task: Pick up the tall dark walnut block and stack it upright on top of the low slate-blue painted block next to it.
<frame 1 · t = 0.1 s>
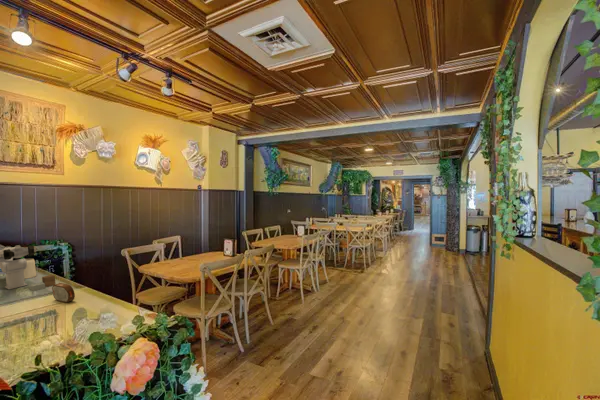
hand: (23, 252, 152), 22 cm above the counter, tool horizontal, fingers open, 7 cm apart
walnut block: (49, 285, 162), on the counter
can: (29, 277, 182), on the counter
tin: (63, 301, 136), on the counter
slate block: (38, 289, 157), on the counter
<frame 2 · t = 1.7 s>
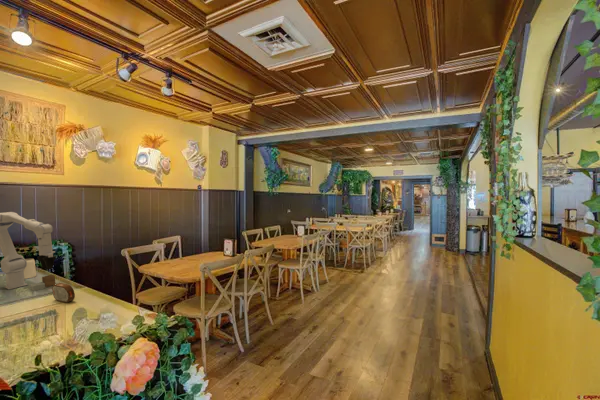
hand: (47, 268, 162), 10 cm above the counter, tool pointing down, fingers open, 7 cm apart
nothing on the counter moved.
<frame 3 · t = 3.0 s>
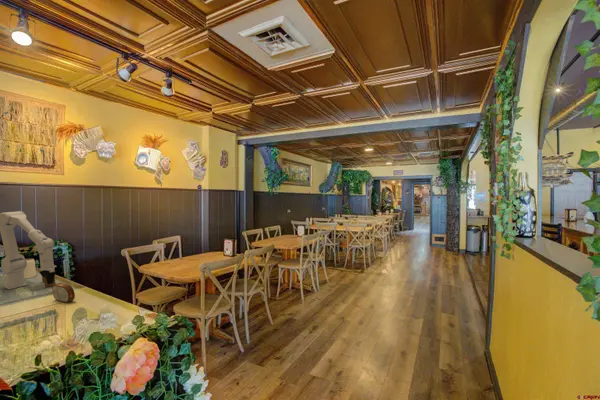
hand: (48, 282, 162), 1 cm above the counter, tool pointing down, fingers closed on walnut block, 4 cm apart
walnut block: (49, 285, 162), on the counter, touching gripper
everything else where it was.
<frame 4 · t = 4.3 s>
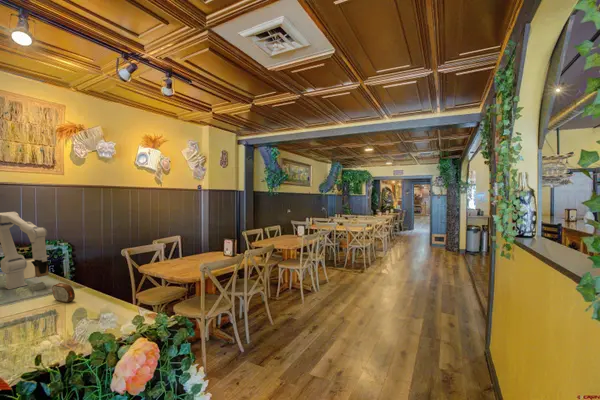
hand: (41, 272, 159), 8 cm above the counter, tool pointing down, fingers closed on walnut block, 4 cm apart
walnut block: (42, 275, 159), point 7 cm above the counter, touching gripper
everything else where it was.
when the fingers open (5 cm above the counter, at t = 5.5 s): walnut block stays where it is, resting on slate block.
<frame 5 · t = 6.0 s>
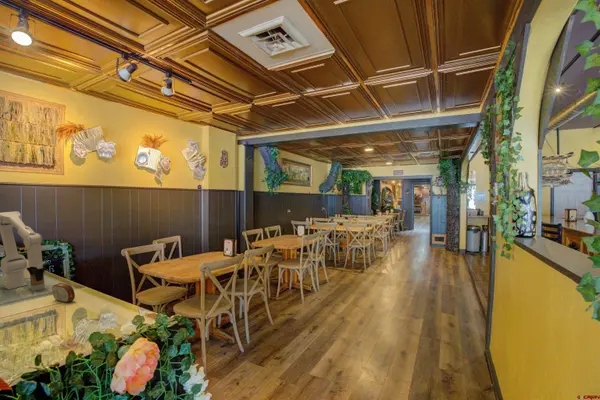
hand: (37, 279, 157), 5 cm above the counter, tool pointing down, fingers open, 7 cm apart
walnut block: (37, 284, 157), point 3 cm above the counter, touching slate block
slate block: (38, 289, 157), on the counter, touching walnut block
everything else where it was.
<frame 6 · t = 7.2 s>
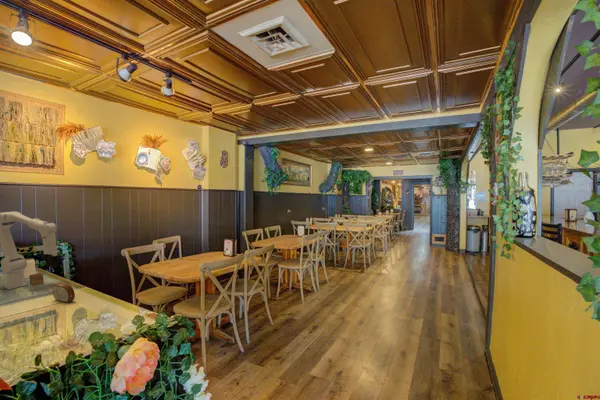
hand: (52, 267, 162), 10 cm above the counter, tool pointing down, fingers open, 7 cm apart
nothing on the counter moved.
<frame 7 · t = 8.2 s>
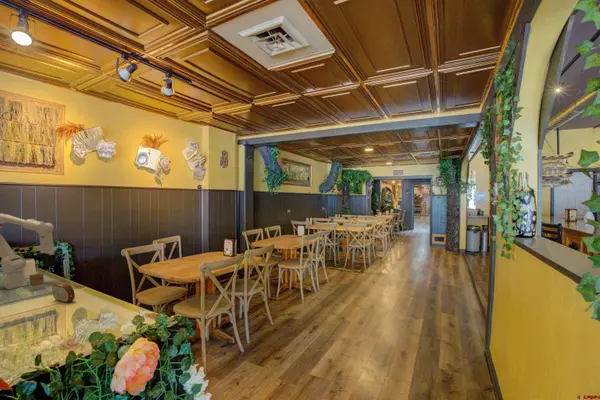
hand: (48, 265, 167), 10 cm above the counter, tool pointing down, fingers open, 7 cm apart
nothing on the counter moved.
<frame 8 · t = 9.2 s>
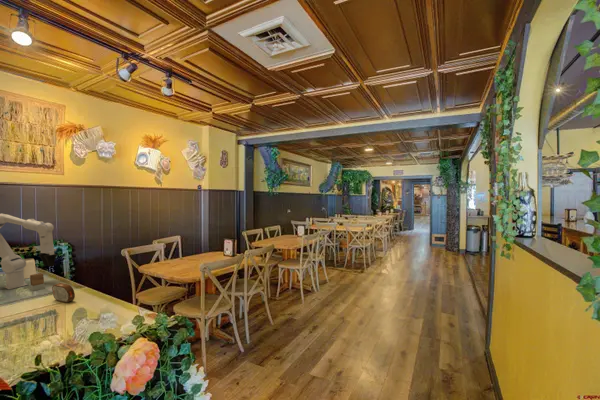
hand: (48, 265, 167), 10 cm above the counter, tool pointing down, fingers open, 7 cm apart
nothing on the counter moved.
at the end: walnut block 0.0 cm off-centre on the slate block, point 3.0 cm above the slate block's base; walnut block tilted 1°; the gripper is holding nothing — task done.
